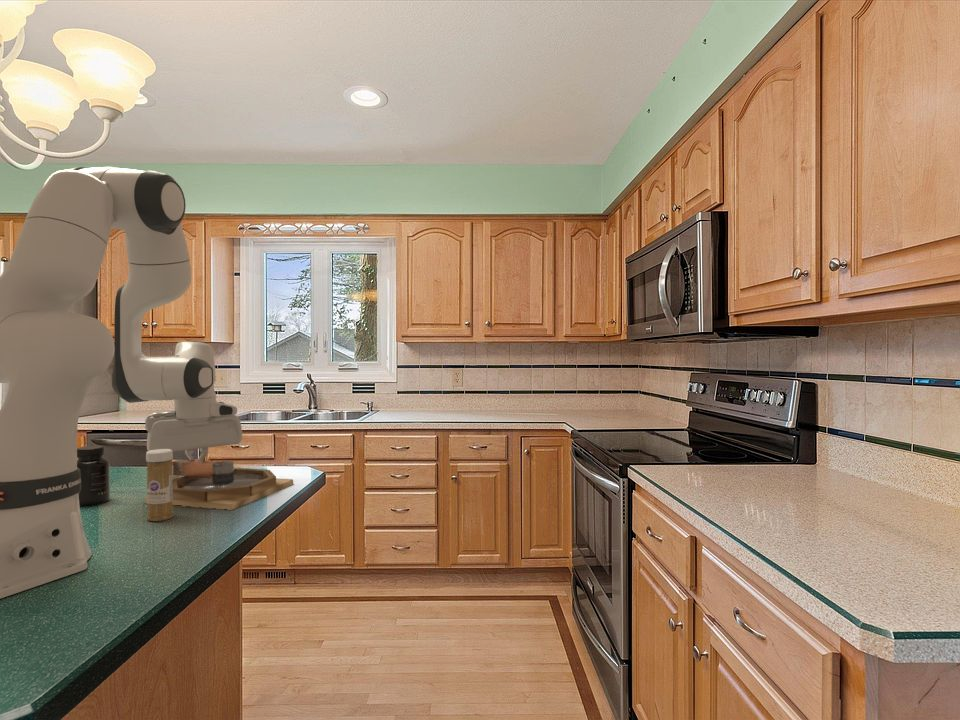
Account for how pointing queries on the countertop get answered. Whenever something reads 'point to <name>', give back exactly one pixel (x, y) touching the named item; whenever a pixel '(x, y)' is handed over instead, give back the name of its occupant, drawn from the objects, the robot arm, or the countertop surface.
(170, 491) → the sprinkles bottle
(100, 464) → the supplement bottle
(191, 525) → the countertop surface
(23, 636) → the countertop surface
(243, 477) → the dial
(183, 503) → the dial housing
